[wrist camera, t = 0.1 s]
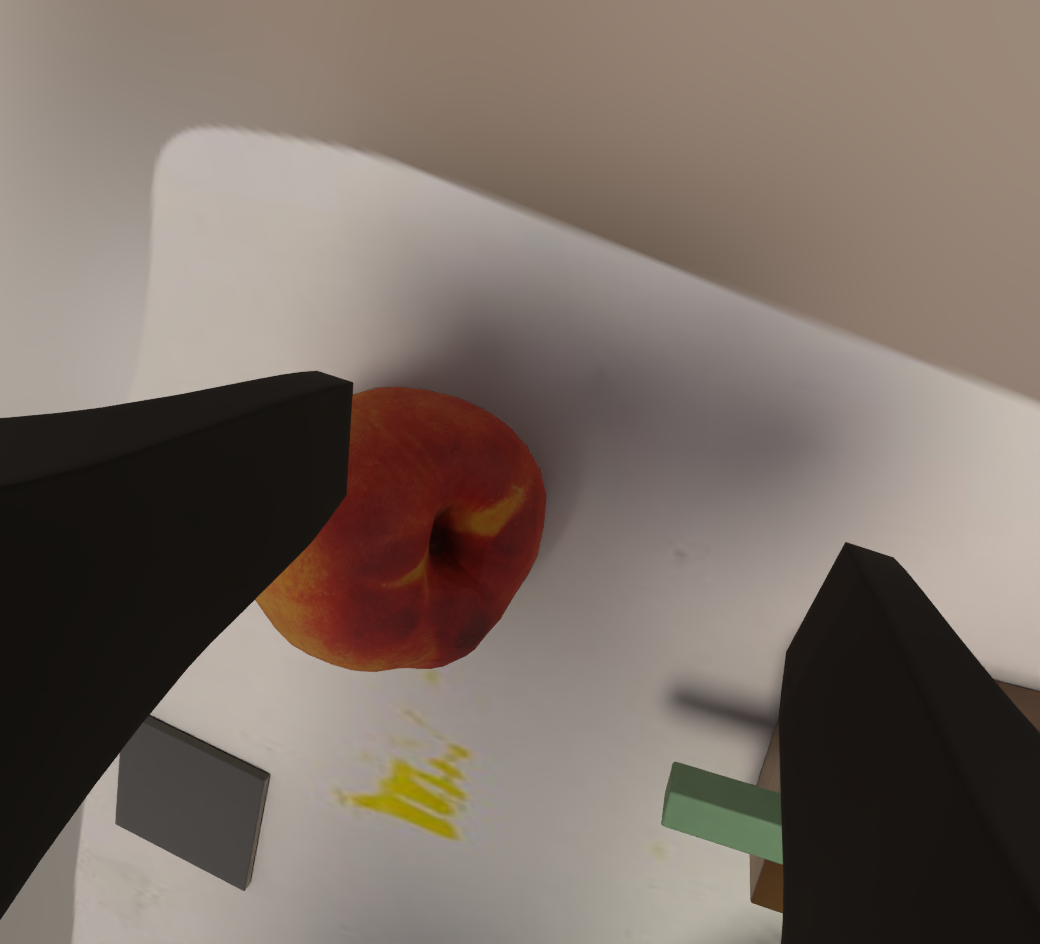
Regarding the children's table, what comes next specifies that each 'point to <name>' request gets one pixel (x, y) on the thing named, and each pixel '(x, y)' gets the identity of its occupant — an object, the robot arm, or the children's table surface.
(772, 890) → the block with upright peg
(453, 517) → the fruit
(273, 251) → the children's table surface
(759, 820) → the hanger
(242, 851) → the coaster
